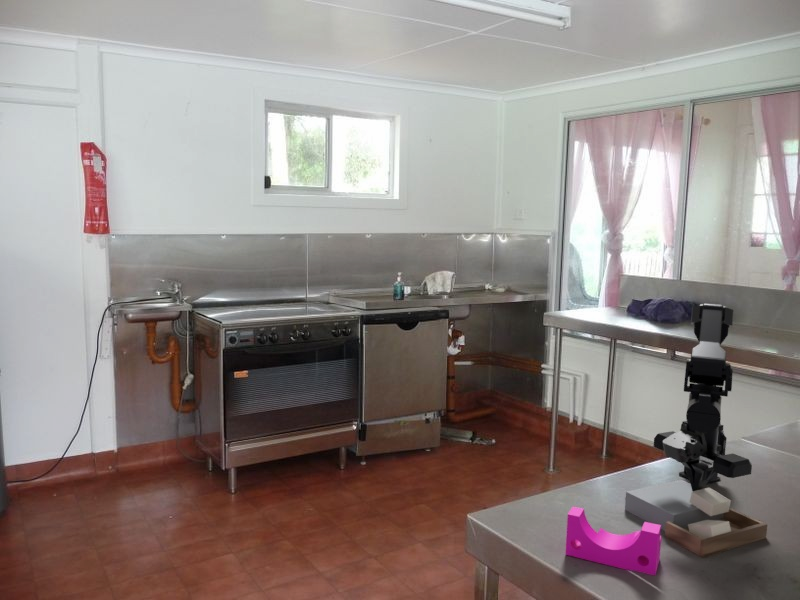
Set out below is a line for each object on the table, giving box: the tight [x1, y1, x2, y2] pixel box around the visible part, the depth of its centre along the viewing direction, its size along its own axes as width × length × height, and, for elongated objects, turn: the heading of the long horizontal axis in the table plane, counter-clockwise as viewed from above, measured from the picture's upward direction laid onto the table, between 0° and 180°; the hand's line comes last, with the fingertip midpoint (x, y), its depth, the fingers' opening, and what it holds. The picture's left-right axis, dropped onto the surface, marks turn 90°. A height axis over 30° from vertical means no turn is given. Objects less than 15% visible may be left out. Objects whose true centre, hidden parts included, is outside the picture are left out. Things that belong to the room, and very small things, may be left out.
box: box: [664, 507, 768, 559], centre depth 127 cm, size 9×17×3 cm, turn 117°
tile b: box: [689, 487, 732, 516], centre depth 132 cm, size 5×5×2 cm
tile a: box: [688, 520, 731, 539], centre depth 125 cm, size 5×5×2 cm
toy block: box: [564, 506, 662, 576], centre depth 119 cm, size 15×6×8 cm, turn 63°
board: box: [624, 479, 731, 532], centre depth 137 cm, size 12×16×4 cm
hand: (696, 494), depth 134 cm, fingers closed
